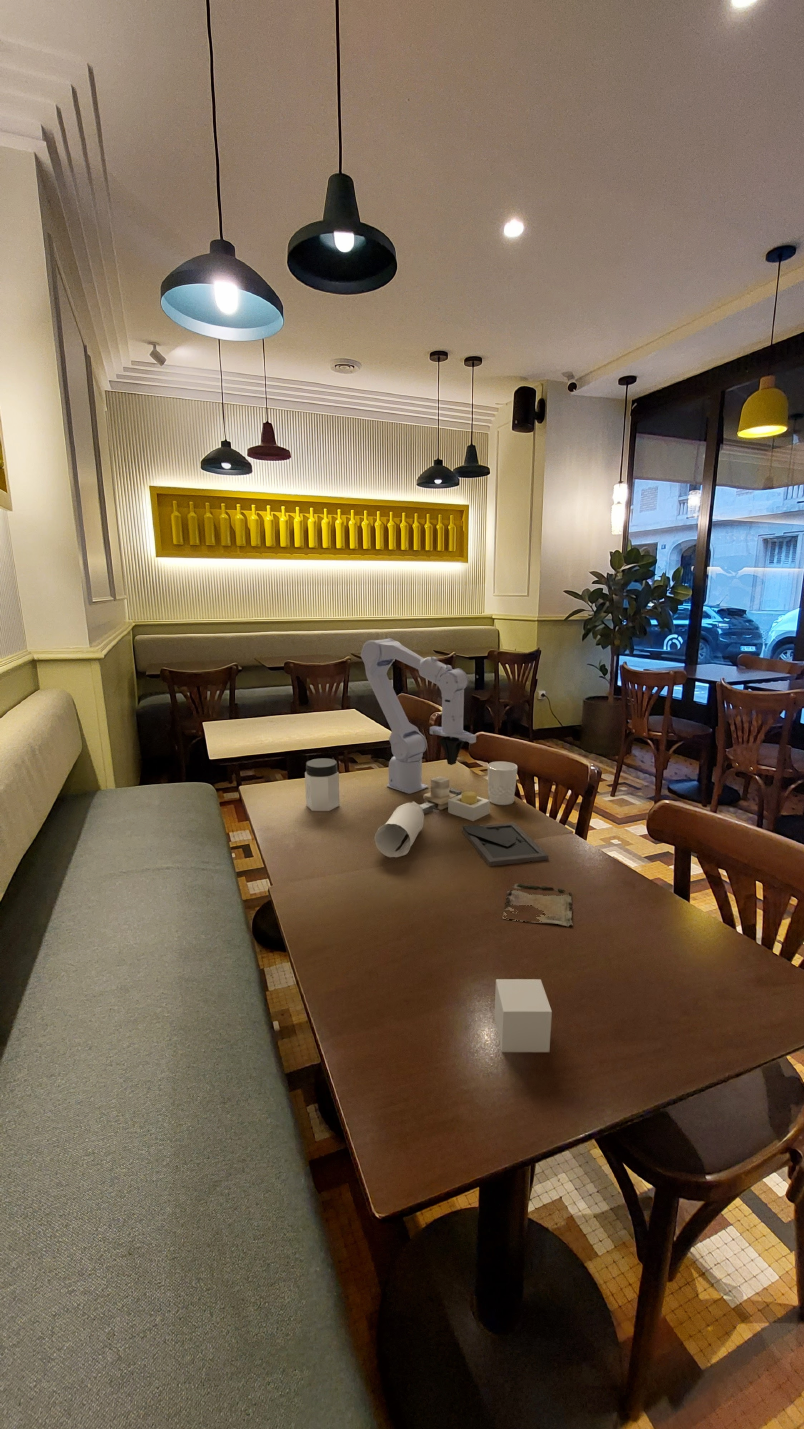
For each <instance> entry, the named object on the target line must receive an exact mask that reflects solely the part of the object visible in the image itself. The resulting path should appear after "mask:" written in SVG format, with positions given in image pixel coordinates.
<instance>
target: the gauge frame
mask: <svg viewBox="0 0 804 1429" xmlns="http://www.w3.org/2000/svg"><path fill="white" fill-rule="evenodd" d="M447 808H448V809H447V813H448V814H451V815H454V816H457V817H460V818H463V819H466V820H468V821H472V822H475V821H477V820H478V819H482V817H485V816H487V815H489V814H491V812H490V809H491V802H490V800H489V799H487V798H483V797H479V796H477V803H475V804H473V805H469V804H466V803H463V802H461V795H459V796H456V797H454V798H451V799H449V800H448V807H447Z"/></svg>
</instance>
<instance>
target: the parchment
mask: <svg viewBox="0 0 804 1429" xmlns="http://www.w3.org/2000/svg"><path fill="white" fill-rule="evenodd" d="M509 887H510V888H513V889H511V890H507V891H506V895H505V898H506V902H505V903H504V905H505V904H506V905H505V906H504V908H503V910H510V911H514V908H513V907H509V905H508V904H510V905H511V906H519V905H526V906H527V905H529V906H528V907H534V908H535V909H537V908H538V909H537V910H539V911H540V910H542V911H544V912H542V911H541V912H542V914H543V913H545V914H546V915H545V916H544V915H542V914H539V915H540V916H541V917H536V918H537V919H539V920H540V921H539V922H536V921H531V922H530V923H533V924H536V923H537V924H556V925H557V924H558V925H560V926H566V927H569V926H571V927H574V925H573V920H572V916H573V914H572V913H573V910H574V909H573V908H574V907H573V905H572V904H573V900H572V895H573V893H572V892H568V894H569V895H567V894H563V896H562V894H560V895H561V896H556V895H549V896H548V895H547V896H543V894H534V893H531V894H532V895H531V894H530V895H529V893H527V892H524V891H522V890H518V891H517V889H532V888H533V890H538V889H539V891H544V890H548V891H550V889H551V891H553V890H554V889H555V888H554V887H552V886H546V885H545V886H544V885H543V886H538V885H532V884H523V883H522V884H521V883H515V884H513V885H509ZM514 889H516V890H514ZM540 889H542V890H540ZM557 890H558V891H559V892H558V891H557ZM554 891H557V892H558V893H565V892H566V890H564V889H562V888H557V889H555V890H554ZM564 891H565V892H564ZM506 896H507V897H506ZM512 904H513V905H512ZM530 905H532V906H530ZM507 906H508V907H507ZM526 906H525V907H526ZM512 908H513V909H512ZM502 912H503V911H502ZM517 912H518V911H517ZM517 912H516V913H514V912H512V913H511V914H517ZM504 915H505V916H506V915H507V914H506V913H505V912H503V914H502V919H503V920H507V919H506V918H507V917H506V918H504V917H503V916H504ZM548 916H549V917H548ZM536 918H535V919H536ZM537 919H536V920H537ZM553 919H554V920H553ZM516 920H517V921H516ZM518 920H519V919H515V920H513V921H515V922H519V921H518ZM523 921H525V923H528V922H527V921H528V920H521V922H523ZM541 921H542V922H541ZM523 923H524V922H523Z"/></svg>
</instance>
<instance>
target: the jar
mask: <svg viewBox="0 0 804 1429" xmlns="http://www.w3.org/2000/svg"><path fill="white" fill-rule="evenodd" d="M304 784H305V786H304V787H305V806H307V808H308V809H310V810H311V811H312V812H330V811H332V810H334V809H336V808H339V806H341V804H340V803H341V802H340V801H341V800H340V772H339V771H338V762H337V760H335V759H333V758H327V757H325V758H314V759H311V760H307V761H306V762H305V772H304Z"/></svg>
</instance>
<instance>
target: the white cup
mask: <svg viewBox="0 0 804 1429" xmlns="http://www.w3.org/2000/svg"><path fill="white" fill-rule="evenodd" d="M517 776H518V765H517V764H516V763H514V762H511V761H510V762H509V761H492V762H489V763H488V764H487V792H488V800H490V804H494V805H498V806H499V805H500V806H508V805H512V804H513V803H514V802H515V792H516V785H517Z"/></svg>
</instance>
